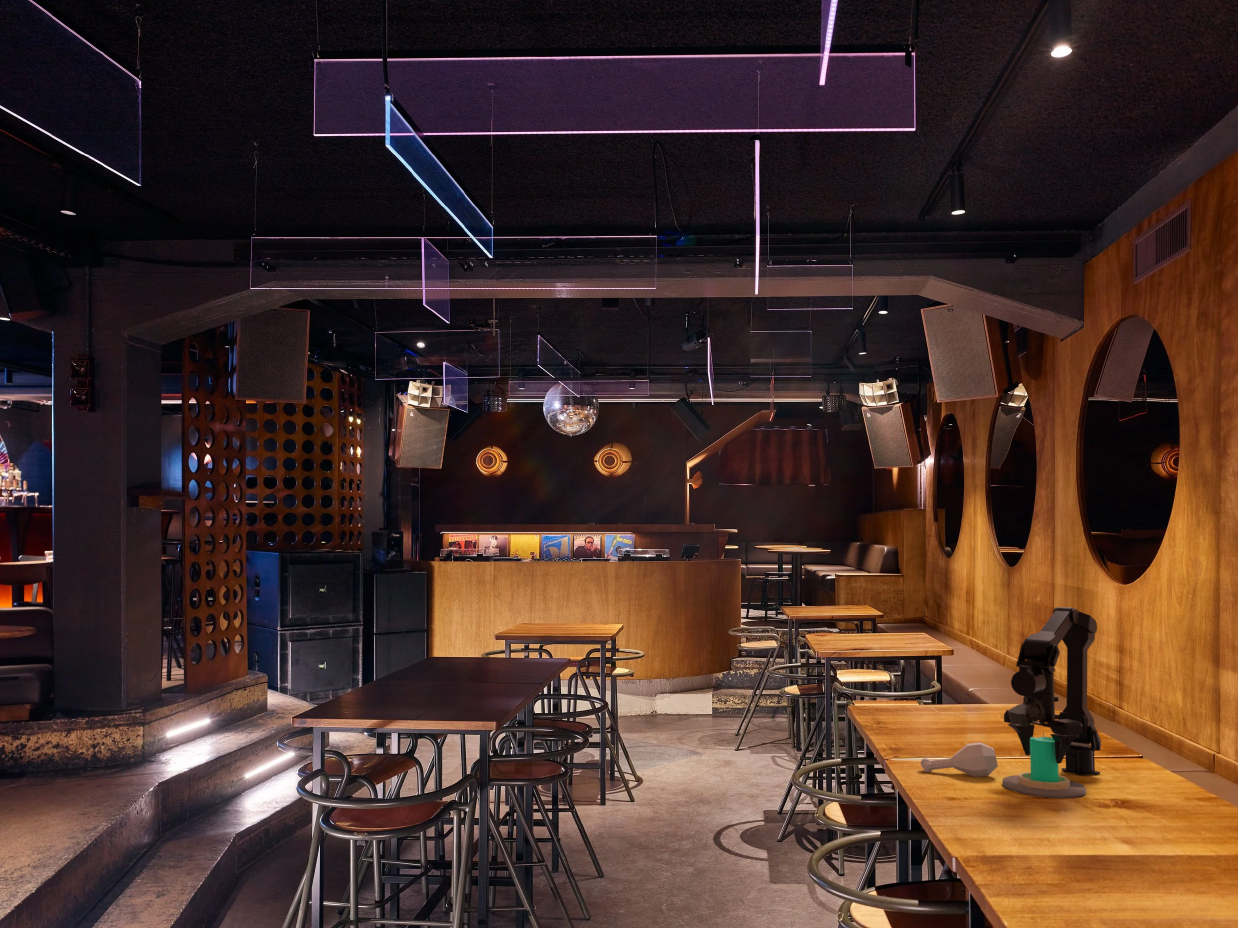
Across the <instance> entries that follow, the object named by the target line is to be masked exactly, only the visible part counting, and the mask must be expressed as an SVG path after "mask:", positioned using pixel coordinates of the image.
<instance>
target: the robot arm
mask: <svg viewBox="0 0 1238 928" xmlns="http://www.w3.org/2000/svg"><path fill="white" fill-rule="evenodd" d="M1097 630H1098V622H1097V621H1096V619H1095V618H1093V617H1092V615H1090V614H1088V613H1085V612H1083V611H1082V612H1081V611H1080V610H1078V609H1076V608H1074V607H1067V606H1066V607H1064V606H1063V607H1062V606H1058V607H1055V608H1053V610H1052V615H1051V616H1050V617H1049V619H1048V620H1047V622H1046V623H1044V625H1043V627H1042V628H1041V629H1040V630H1039V632H1036V633H1033V634H1030V635H1029V636H1027V637H1026V638H1025V639H1024V641H1023V642H1022V643H1021V646H1020V649H1019V653H1018V657H1017V661H1016V668H1018V671H1017V672H1015V673H1014V674H1013V675H1012V677H1011V679H1010V685H1011V688H1012V690H1013V691H1014V692H1015V693H1016V694H1017V695H1019V696H1022V697H1023V700H1022V703H1020V704H1017V705H1015V706H1013V707H1011V708H1010V709H1006V710H1005V712H1004V714H1003V722H1004V723H1007V725H1008V727H1010V728H1012V729H1013V730H1014V732H1016V734H1017V736H1018V739H1019V741H1020V744H1021V746H1022V749H1023V751H1024V755H1025V756H1030V738H1031V737H1034V731H1035V725H1036V726H1041V727H1044V728H1050V730H1051V732H1052V733H1050V737H1051V738H1053V739H1054V741H1055V757H1056V763H1058V765H1059V764H1062V762H1063V761H1064V759H1065V767H1063V768H1061V771H1063V772H1067V773H1070V774H1074V775H1079V776H1082V777H1083V776H1091V775H1100V774H1101V771H1098V770H1096V769H1095V767H1096V766H1095V764H1096V763H1095V760H1096V759H1095V752H1096V751H1097V752H1098V751H1102V750H1101V747H1102V740H1101V737H1100V735H1099V733H1098V730H1097V729H1096V726H1095V719H1094V717H1093V715H1092V713H1091V712H1090V711H1089V708H1088V650H1089V649H1090V647H1091V646H1092V645H1093V643H1094V642H1095V637H1096V633H1097ZM1061 642H1063V644H1064V645H1065V647H1066V706H1065V707H1064V709H1063V710H1062V711H1061V712H1060V711H1059V714H1058V713H1057V714H1056V710H1055V709H1056V707H1055V704H1056V703H1055V702H1059V696H1055V678H1054V677H1055V676H1054V675H1055V674H1054V673H1055V672H1056V668H1055V667H1056V665H1057V663H1058V659H1059V657H1060V653H1061V651H1060V649H1059V645H1060V643H1061Z"/></svg>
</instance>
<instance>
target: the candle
mask: <svg viewBox="0 0 1238 928" xmlns="http://www.w3.org/2000/svg"><path fill="white" fill-rule="evenodd" d="M1029 757H1030V759H1029V760H1030V762H1029V763H1030V764H1029V765H1030V772H1031V780H1035V781H1041V782H1059V774H1060V773H1059V764H1058V763H1056V757H1055V741H1054V739H1053V738H1052V736H1045V732H1044V731H1043V732H1042V736H1040V737H1035V736H1033V737H1031V738H1030V755H1029Z"/></svg>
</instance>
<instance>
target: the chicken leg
mask: <svg viewBox="0 0 1238 928" xmlns="http://www.w3.org/2000/svg"><path fill="white" fill-rule="evenodd" d="M997 761H998V760H997V756H996V752H995V749H994V748H993V747H992V746H989V745H987V744H985V743H982V742H972V743H967V744H966V745H964V746H963V747H962V748H960V749H959V750H958V751H957V752H956V753H955V754H953V756H951V757H948V758H939V759H928V758H927V757H923V758H922V759H921V760H920V766H921V768H923V771H924V772H925V773H926V774H927V773H930V772H932V771H934V770H940V769H941V770H942V769H950V768H953V769H955V770H957V771H960V772H963V773H964V774H966V775H969V776H970V777H973V778H981V777H988V776H990V775H991V774H992V773H993V771H995V770H996V769H997V768H998V767H999V765H998V762H997Z"/></svg>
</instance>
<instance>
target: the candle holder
mask: <svg viewBox="0 0 1238 928" xmlns="http://www.w3.org/2000/svg"><path fill="white" fill-rule="evenodd" d="M1001 782H1002V786H1003V787H1004V788H1005V789H1006V790H1009V791H1011V792H1015V793H1018V794H1022V795H1027V796H1032V797H1037V798H1038V797H1039V798H1048V799H1050V798H1051V799H1075V798H1081V797H1084V796H1086V795H1087V786H1085V785H1084V784H1081V783H1080V782H1077V781H1073V780H1070V779H1069V778H1067V777H1066V776H1064V775H1059V782H1041V781H1035V780H1031V771H1027V772H1020V773H1019V774H1015V775H1010V776H1005V777H1003V778H1002V781H1001Z"/></svg>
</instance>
